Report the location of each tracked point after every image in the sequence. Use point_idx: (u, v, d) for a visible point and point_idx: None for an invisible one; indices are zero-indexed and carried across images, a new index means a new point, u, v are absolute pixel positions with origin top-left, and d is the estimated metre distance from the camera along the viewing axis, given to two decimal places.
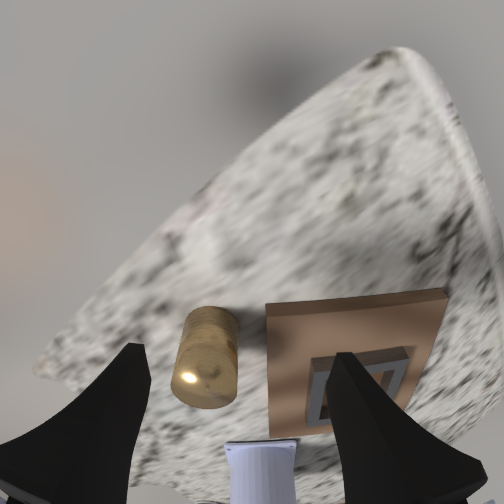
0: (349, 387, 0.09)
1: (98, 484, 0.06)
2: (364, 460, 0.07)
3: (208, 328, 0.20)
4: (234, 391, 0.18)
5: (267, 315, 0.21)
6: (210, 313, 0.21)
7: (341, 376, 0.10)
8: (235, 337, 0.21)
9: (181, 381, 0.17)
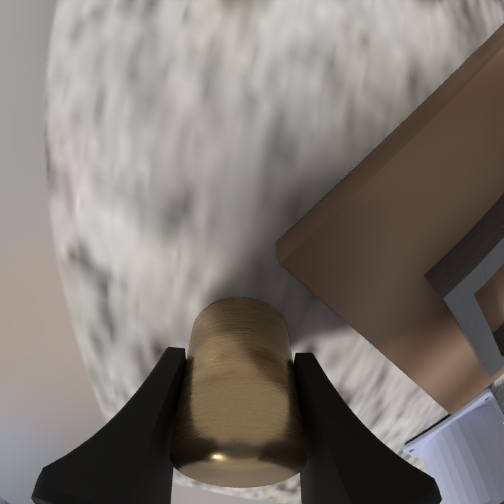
0: (304, 389, 0.09)
1: (153, 496, 0.06)
2: (314, 466, 0.07)
3: (200, 349, 0.10)
4: (289, 446, 0.07)
5: (280, 259, 0.10)
6: (204, 320, 0.12)
7: (298, 377, 0.10)
8: (262, 333, 0.10)
9: (190, 467, 0.08)
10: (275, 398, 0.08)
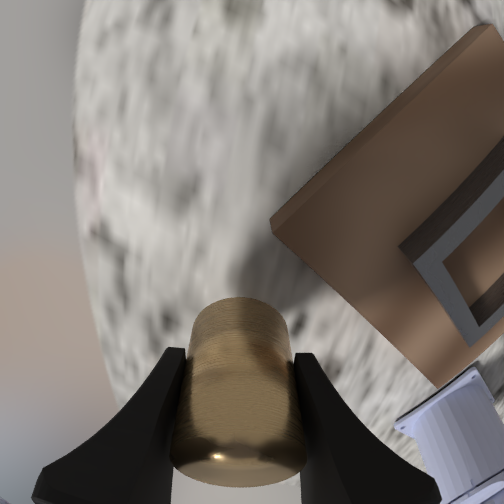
0: (304, 389, 0.09)
1: (153, 496, 0.06)
2: (314, 466, 0.07)
3: (200, 349, 0.10)
4: (289, 445, 0.07)
5: (273, 229, 0.12)
6: (204, 319, 0.12)
7: (298, 377, 0.10)
8: (262, 333, 0.11)
9: (190, 467, 0.08)
10: (275, 398, 0.08)
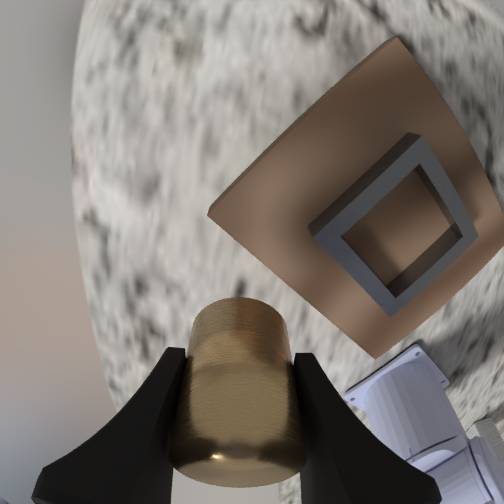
0: (304, 389, 0.09)
1: (153, 496, 0.06)
2: (314, 466, 0.07)
3: (199, 349, 0.10)
4: (288, 445, 0.07)
5: (208, 213, 0.16)
6: (204, 319, 0.12)
7: (298, 377, 0.10)
8: (261, 333, 0.10)
9: (189, 467, 0.08)
10: (274, 398, 0.08)
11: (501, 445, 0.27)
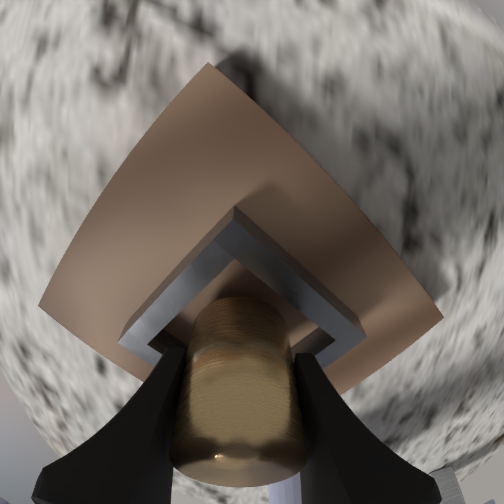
0: (304, 389, 0.09)
1: (153, 496, 0.06)
2: (314, 466, 0.07)
3: (200, 348, 0.10)
4: (289, 445, 0.07)
5: (39, 303, 0.14)
6: (204, 318, 0.12)
7: (298, 377, 0.10)
8: (262, 332, 0.10)
9: (190, 466, 0.08)
10: (275, 397, 0.08)
11: (458, 499, 0.23)
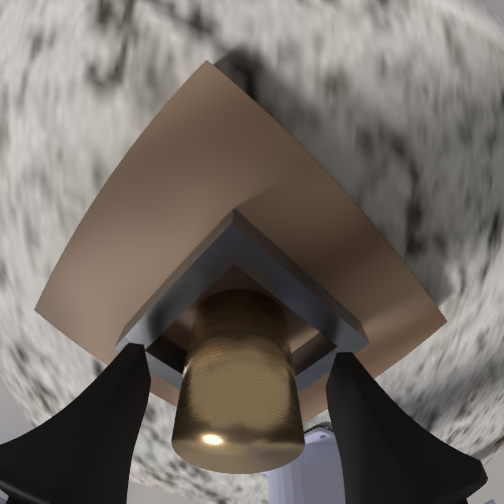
0: (349, 387, 0.09)
1: (98, 484, 0.06)
2: (364, 460, 0.07)
3: (201, 337, 0.11)
4: (287, 429, 0.08)
5: (35, 307, 0.13)
6: (205, 310, 0.12)
7: (341, 376, 0.10)
8: (261, 322, 0.11)
9: (192, 452, 0.08)
10: (273, 383, 0.09)
11: None
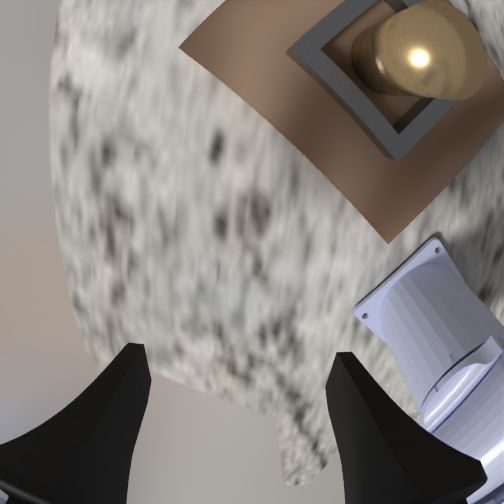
0: (349, 387, 0.09)
1: (98, 484, 0.06)
2: (364, 460, 0.07)
3: None
4: (473, 29, 0.07)
5: (179, 46, 0.13)
6: (368, 27, 0.12)
7: (341, 376, 0.10)
8: None
9: (417, 47, 0.08)
10: None
11: None
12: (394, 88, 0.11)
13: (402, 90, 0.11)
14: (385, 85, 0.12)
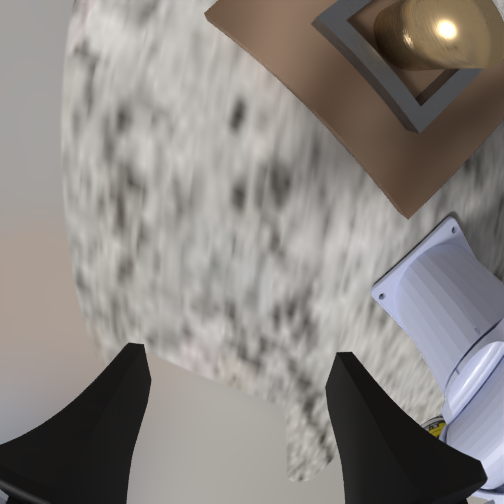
0: (349, 387, 0.09)
1: (98, 484, 0.06)
2: (364, 460, 0.07)
3: None
4: (493, 6, 0.07)
5: (205, 12, 0.12)
6: (390, 5, 0.11)
7: (341, 376, 0.10)
8: None
9: (449, 17, 0.07)
10: None
11: None
12: (422, 60, 0.11)
13: (430, 61, 0.10)
14: (412, 57, 0.11)
